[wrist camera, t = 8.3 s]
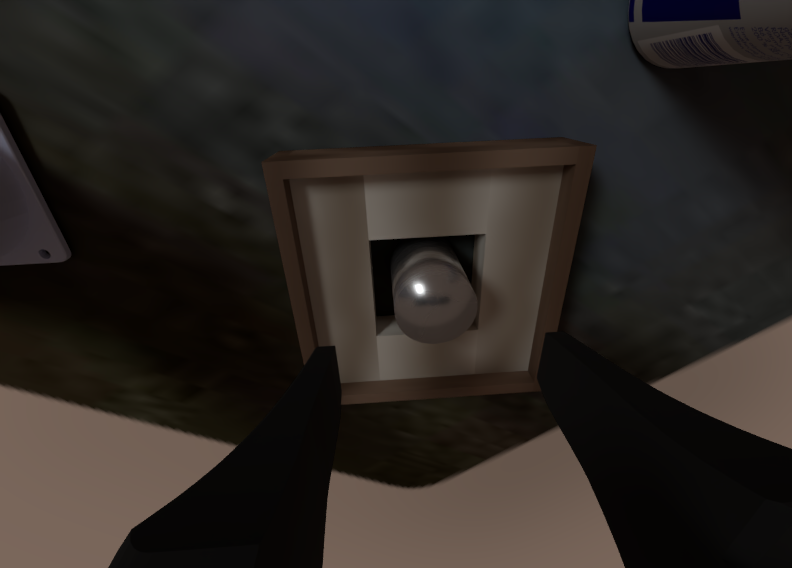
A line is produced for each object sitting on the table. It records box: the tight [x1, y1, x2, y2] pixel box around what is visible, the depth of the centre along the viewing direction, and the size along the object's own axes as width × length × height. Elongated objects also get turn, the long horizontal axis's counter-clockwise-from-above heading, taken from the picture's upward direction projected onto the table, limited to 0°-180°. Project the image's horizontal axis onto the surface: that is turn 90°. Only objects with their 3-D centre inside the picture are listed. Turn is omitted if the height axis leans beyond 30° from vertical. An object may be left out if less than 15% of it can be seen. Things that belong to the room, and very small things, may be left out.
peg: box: [390, 236, 478, 344], centre depth 18 cm, size 4×4×5 cm
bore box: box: [262, 137, 597, 405], centre depth 19 cm, size 13×13×3 cm
